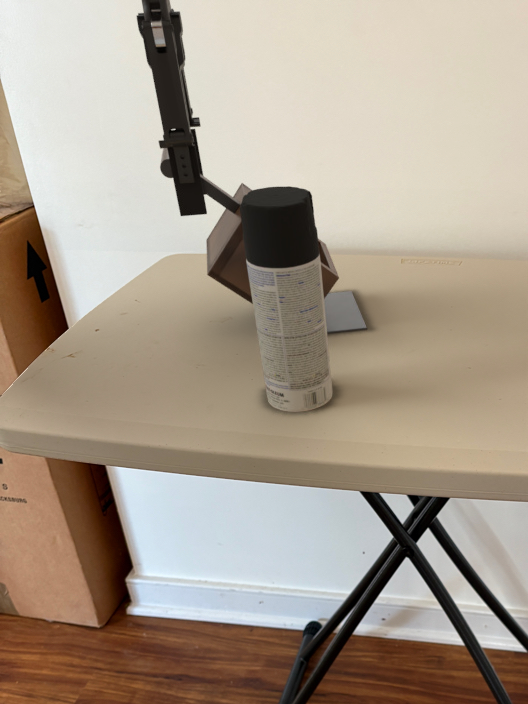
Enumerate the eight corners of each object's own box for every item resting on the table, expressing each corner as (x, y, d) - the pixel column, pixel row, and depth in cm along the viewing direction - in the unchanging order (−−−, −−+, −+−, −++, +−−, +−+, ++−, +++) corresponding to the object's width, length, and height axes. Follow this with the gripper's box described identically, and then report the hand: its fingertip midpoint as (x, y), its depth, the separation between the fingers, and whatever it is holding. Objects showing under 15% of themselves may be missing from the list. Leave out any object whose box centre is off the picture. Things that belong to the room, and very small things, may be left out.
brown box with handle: (326, 244, 94) (171, 130, 83) (339, 277, 85) (167, 155, 74) (289, 296, 97) (136, 193, 86) (299, 334, 88) (128, 224, 77)
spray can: (337, 386, 80) (319, 184, 67) (328, 419, 75) (306, 206, 62) (275, 386, 80) (245, 184, 68) (262, 418, 75) (227, 207, 62)
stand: (352, 298, 99) (351, 290, 98) (367, 335, 90) (367, 327, 89) (293, 304, 98) (293, 296, 97) (303, 342, 89) (302, 334, 88)
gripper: (184, -66, 61) (231, 228, 76) (187, -67, 76) (226, 178, 91) (88, -64, 60) (154, 235, 74) (110, -65, 75) (162, 183, 90)
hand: (193, 203), depth 83 cm, fingers closed on brown box with handle, 7 cm apart
